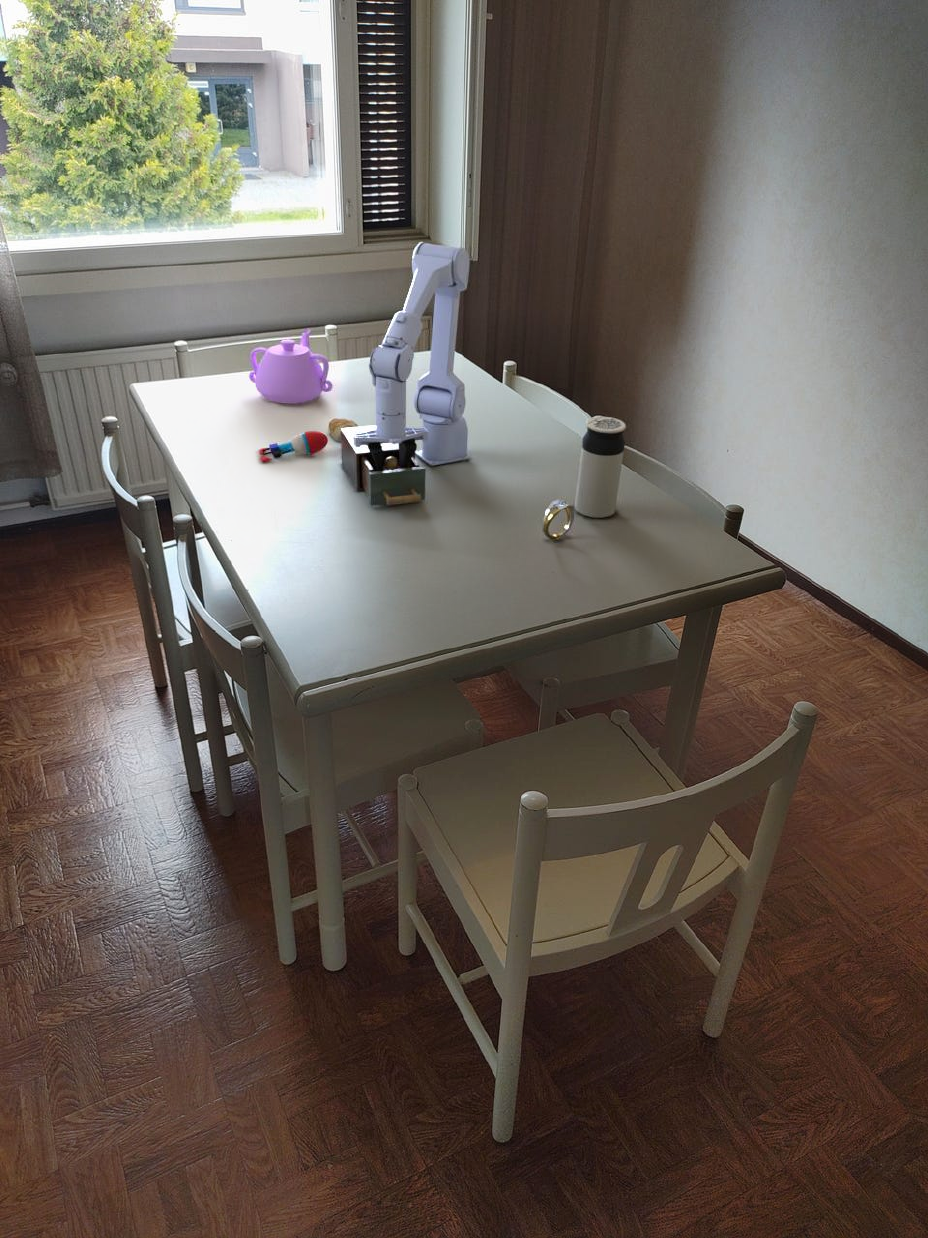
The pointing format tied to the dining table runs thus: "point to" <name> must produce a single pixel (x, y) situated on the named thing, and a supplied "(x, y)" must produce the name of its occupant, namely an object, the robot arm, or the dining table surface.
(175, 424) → the dining table surface
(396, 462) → the doll
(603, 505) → the travel mug
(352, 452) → the cabinet
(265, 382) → the teapot
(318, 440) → the toy figure
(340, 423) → the pastry
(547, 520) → the ring
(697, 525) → the dining table surface
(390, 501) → the drawer
